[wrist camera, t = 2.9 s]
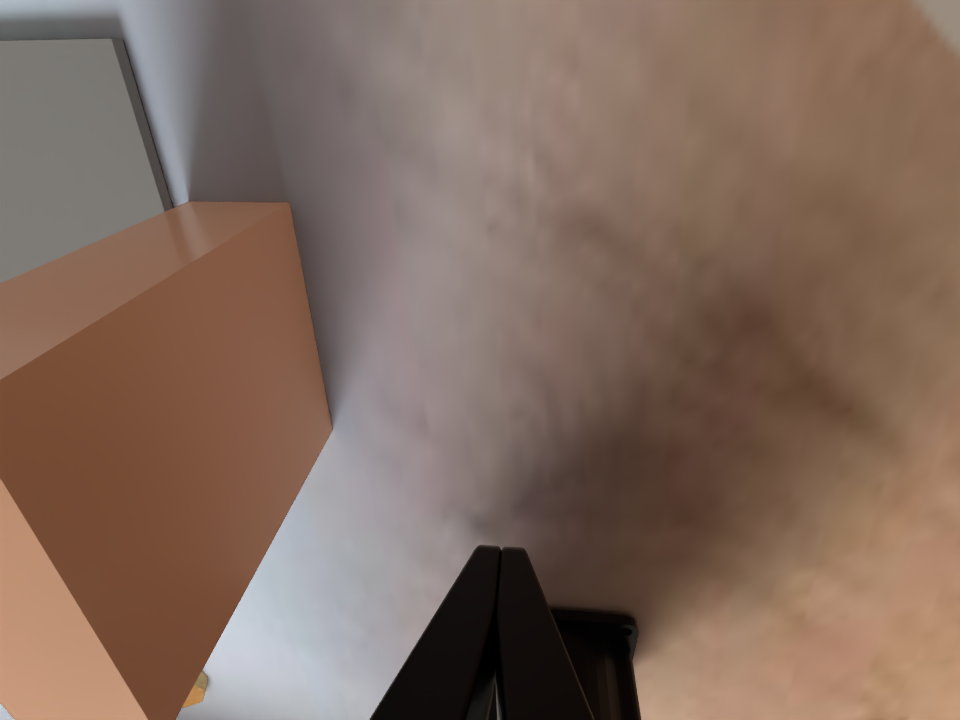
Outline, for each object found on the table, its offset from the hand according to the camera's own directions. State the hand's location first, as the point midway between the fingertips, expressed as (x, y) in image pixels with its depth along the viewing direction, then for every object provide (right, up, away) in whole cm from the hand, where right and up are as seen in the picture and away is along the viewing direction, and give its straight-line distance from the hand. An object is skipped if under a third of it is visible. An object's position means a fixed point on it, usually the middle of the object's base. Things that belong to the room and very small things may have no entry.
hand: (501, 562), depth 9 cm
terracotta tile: (-7, +5, +8) cm, 12 cm away
